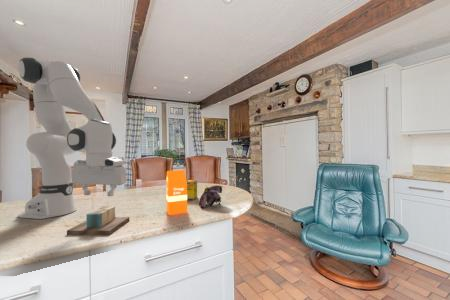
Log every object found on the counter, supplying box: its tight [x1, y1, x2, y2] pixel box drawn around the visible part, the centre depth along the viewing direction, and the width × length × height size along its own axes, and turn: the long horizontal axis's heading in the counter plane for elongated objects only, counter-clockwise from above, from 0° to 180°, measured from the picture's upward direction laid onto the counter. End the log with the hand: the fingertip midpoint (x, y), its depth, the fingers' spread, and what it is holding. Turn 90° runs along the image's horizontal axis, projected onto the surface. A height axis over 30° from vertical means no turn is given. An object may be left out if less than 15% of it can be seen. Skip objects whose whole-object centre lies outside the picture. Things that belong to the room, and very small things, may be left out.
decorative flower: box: [198, 185, 223, 210], centre depth 109 cm, size 15×12×15 cm
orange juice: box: [165, 169, 188, 216], centre depth 100 cm, size 8×9×20 cm
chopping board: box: [66, 216, 130, 236], centre depth 81 cm, size 16×14×2 cm
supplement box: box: [186, 179, 198, 201], centre depth 124 cm, size 6×6×11 cm
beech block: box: [85, 206, 116, 228], centre depth 82 cm, size 5×5×10 cm
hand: (98, 195), depth 82 cm, fingers open, 8 cm apart
